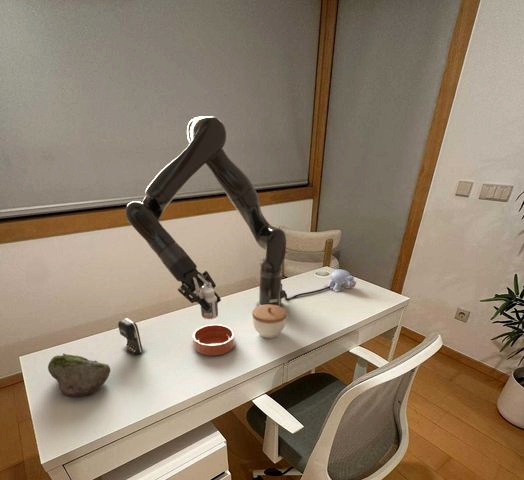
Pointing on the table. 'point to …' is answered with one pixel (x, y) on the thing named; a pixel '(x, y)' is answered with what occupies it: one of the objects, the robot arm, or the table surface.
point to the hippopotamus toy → (341, 279)
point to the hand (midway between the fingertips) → (213, 305)
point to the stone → (78, 374)
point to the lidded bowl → (269, 320)
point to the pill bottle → (212, 301)
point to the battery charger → (131, 335)
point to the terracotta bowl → (213, 339)
